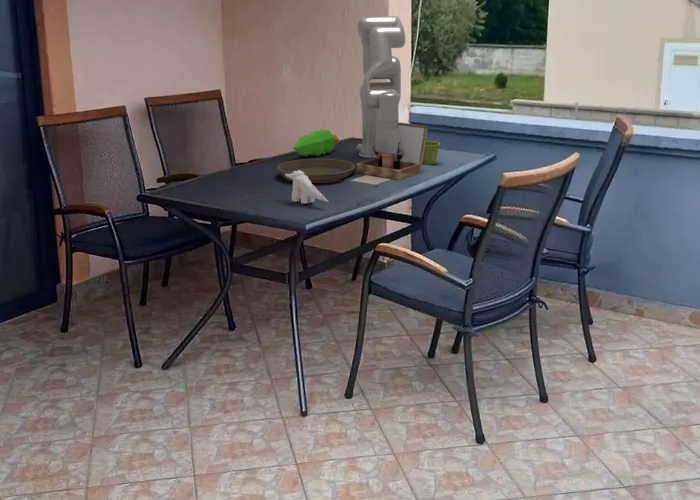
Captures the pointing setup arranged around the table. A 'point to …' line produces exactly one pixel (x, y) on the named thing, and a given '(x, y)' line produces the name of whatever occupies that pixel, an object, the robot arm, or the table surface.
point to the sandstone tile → (369, 180)
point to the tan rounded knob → (387, 160)
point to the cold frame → (403, 172)
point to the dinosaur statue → (304, 188)
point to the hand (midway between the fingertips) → (388, 168)
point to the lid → (413, 141)
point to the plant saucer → (317, 169)
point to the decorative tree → (316, 143)
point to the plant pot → (430, 152)
